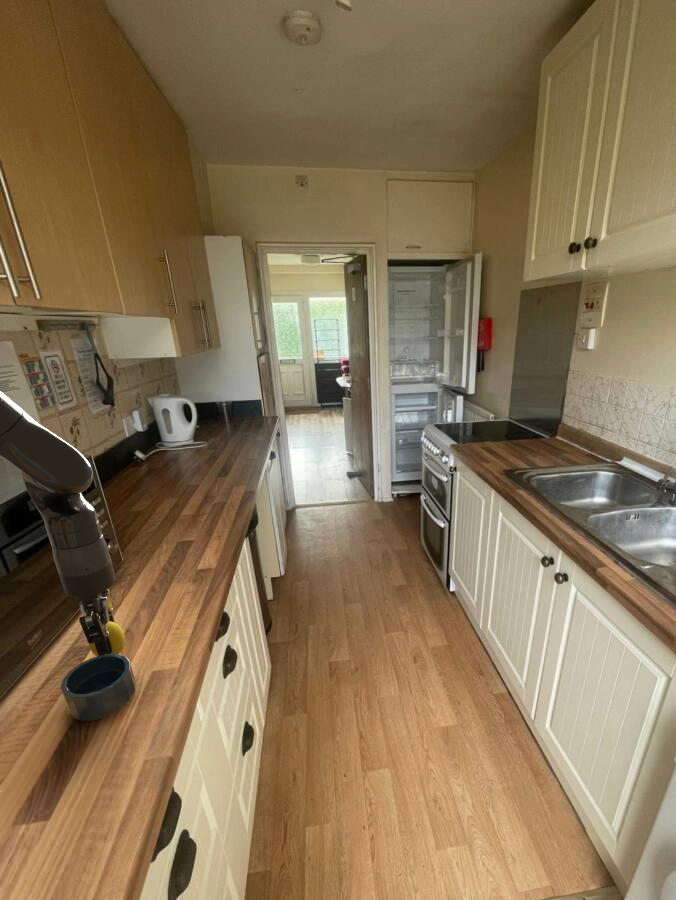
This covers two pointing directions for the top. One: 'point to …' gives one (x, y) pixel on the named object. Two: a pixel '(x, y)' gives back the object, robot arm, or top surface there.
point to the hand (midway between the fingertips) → (108, 642)
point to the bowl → (98, 687)
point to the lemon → (113, 639)
